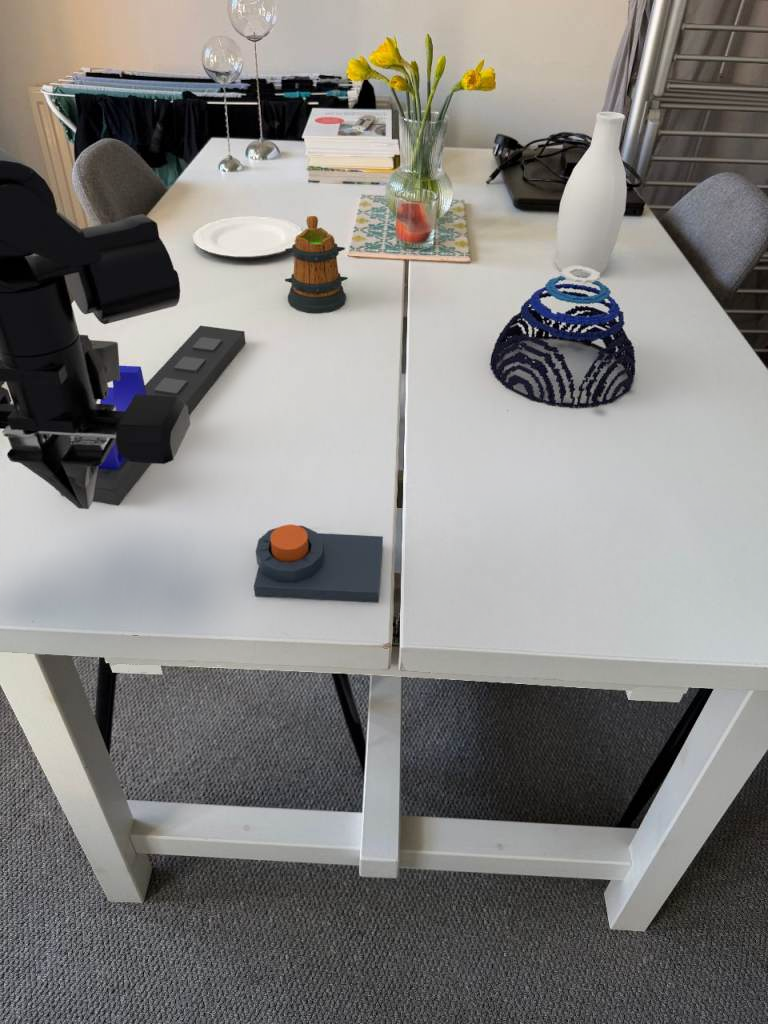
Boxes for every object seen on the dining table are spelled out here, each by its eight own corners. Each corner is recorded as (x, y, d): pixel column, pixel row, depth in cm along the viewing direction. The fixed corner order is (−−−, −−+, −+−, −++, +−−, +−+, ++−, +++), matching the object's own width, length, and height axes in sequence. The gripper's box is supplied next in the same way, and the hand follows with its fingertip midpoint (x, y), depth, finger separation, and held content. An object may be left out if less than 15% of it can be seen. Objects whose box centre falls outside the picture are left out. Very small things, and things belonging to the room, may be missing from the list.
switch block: (252, 596, 71) (249, 574, 69) (266, 540, 77) (264, 518, 75) (378, 602, 70) (379, 580, 68) (382, 545, 77) (383, 524, 75)
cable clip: (113, 408, 89) (102, 364, 85) (150, 410, 89) (140, 366, 85) (77, 467, 80) (63, 421, 76) (118, 469, 80) (106, 423, 76)
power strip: (118, 505, 80) (111, 481, 78) (60, 495, 81) (52, 471, 79) (245, 343, 109) (243, 322, 107) (202, 337, 111) (198, 316, 108)
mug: (350, 312, 118) (350, 241, 111) (287, 315, 117) (282, 243, 109) (343, 280, 128) (342, 212, 120) (284, 281, 127) (280, 213, 119)
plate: (182, 233, 143) (181, 223, 142) (283, 220, 150) (283, 210, 149) (210, 272, 129) (208, 262, 128) (320, 256, 136) (320, 246, 135)
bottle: (599, 285, 129) (634, 126, 112) (540, 271, 133) (565, 116, 116) (618, 265, 136) (654, 113, 119) (562, 252, 140) (589, 103, 124)
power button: (268, 561, 71) (267, 548, 69) (274, 536, 73) (273, 523, 72) (306, 563, 71) (305, 550, 69) (310, 538, 73) (309, 525, 72)
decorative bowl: (545, 324, 117) (562, 234, 107) (657, 372, 106) (687, 275, 97) (463, 366, 106) (473, 269, 96) (579, 423, 95) (603, 320, 86)
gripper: (194, 299, 58) (216, 457, 69) (-36, 285, 59) (19, 445, 69) (152, 367, 50) (184, 536, 60) (-116, 350, 50) (-40, 522, 60)
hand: (86, 505), depth 62 cm, fingers closed
